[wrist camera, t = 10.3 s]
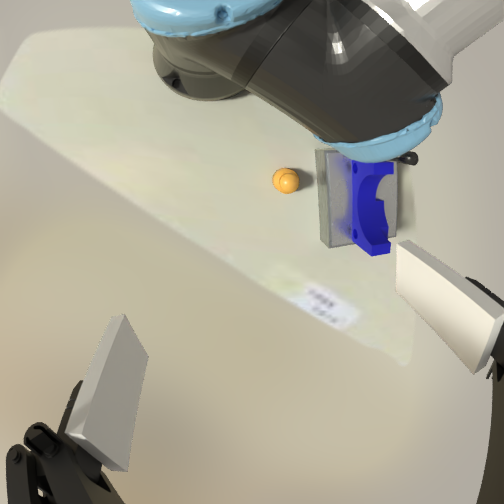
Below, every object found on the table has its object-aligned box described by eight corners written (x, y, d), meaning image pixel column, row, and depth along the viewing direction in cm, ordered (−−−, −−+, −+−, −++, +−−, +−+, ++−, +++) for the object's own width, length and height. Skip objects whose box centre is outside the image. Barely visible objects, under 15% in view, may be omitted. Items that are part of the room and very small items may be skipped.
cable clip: (377, 236, 40) (398, 251, 35) (351, 240, 40) (371, 256, 34) (378, 157, 36) (402, 162, 30) (351, 158, 35) (373, 162, 30)
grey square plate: (314, 149, 38) (340, 152, 30) (383, 146, 39) (418, 151, 31) (320, 239, 43) (343, 263, 35) (384, 229, 44) (415, 248, 36)
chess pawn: (271, 169, 39) (276, 172, 35) (294, 166, 39) (301, 169, 35) (273, 192, 40) (279, 197, 37) (296, 189, 40) (303, 194, 37)
